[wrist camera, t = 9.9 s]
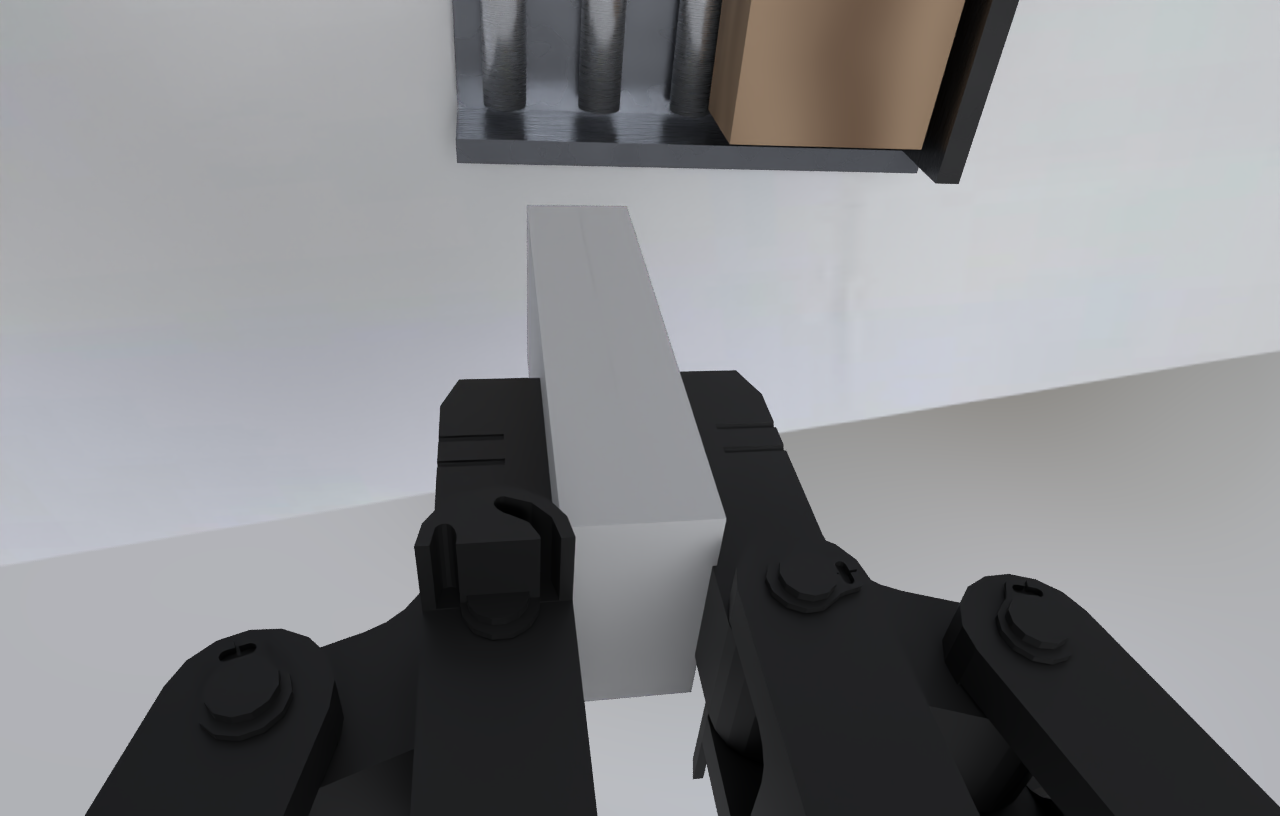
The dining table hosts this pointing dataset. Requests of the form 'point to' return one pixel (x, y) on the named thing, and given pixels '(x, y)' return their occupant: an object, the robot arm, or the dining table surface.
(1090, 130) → the dining table surface
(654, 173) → the dining table surface
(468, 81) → the roller bed
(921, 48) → the slab
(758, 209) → the dining table surface
